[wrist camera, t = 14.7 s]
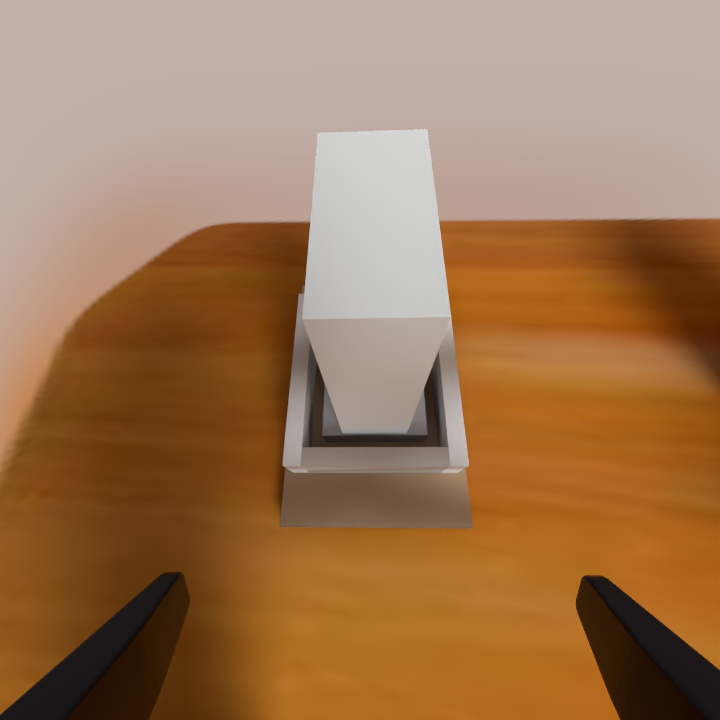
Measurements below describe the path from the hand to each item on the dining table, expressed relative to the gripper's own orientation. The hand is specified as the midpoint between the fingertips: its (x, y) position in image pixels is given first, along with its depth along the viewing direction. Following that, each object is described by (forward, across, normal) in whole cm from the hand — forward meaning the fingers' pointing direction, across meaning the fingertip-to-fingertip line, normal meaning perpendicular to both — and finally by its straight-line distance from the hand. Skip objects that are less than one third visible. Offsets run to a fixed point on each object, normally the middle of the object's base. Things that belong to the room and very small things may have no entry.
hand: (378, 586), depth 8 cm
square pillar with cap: (+12, 0, 0) cm, 12 cm away
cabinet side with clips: (+13, 0, +1) cm, 13 cm away
